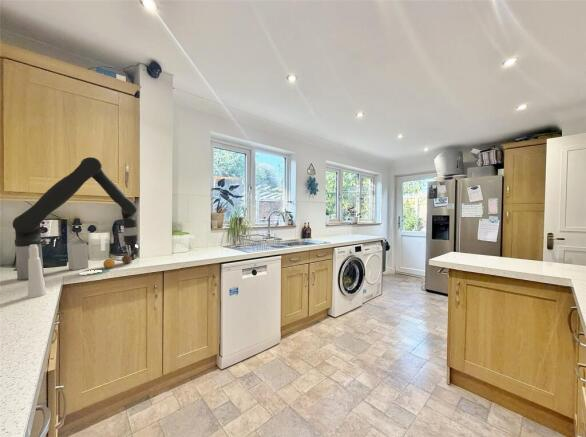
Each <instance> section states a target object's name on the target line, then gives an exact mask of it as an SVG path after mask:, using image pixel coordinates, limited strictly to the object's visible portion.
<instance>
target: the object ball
mask: <svg viewBox="0 0 586 437" xmlns="http://www.w3.org/2000/svg"><path fill="white" fill-rule="evenodd" d="M102 263H103V264H102V265H103V266H104V267H103V268H110V269H111V268H113V267H114V266H115V265H116V262H115V260H114V259H112V258H107V259H105V260H104V261H103V262H102Z"/></svg>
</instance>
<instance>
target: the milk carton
mask: <svg viewBox="0 0 586 437" xmlns="http://www.w3.org/2000/svg"><path fill="white" fill-rule="evenodd" d="M66 247H67V249H66V250H67V261H68V262H67V263H68V269H69V270H72V271H78V270H83V269H87V268H89V255H88V243H87V242H86V241H84V240H82V239H80V237H79V236H76V235H74V236H73V238H71V239H69V242H67V243H66Z"/></svg>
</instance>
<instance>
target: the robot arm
mask: <svg viewBox="0 0 586 437" xmlns="http://www.w3.org/2000/svg"><path fill="white" fill-rule="evenodd" d="M91 178H92V179H93V180H94V181H96V182H97V184H99V186H100V187H101V188H102V189H103V190H104V192H105V193H106V194H107V195H108V196H109V197H110V198H111V200H112V201H113V202H114V203H115V204H117V205H118V206H119V207H120V209H121V210H120V212H121V217H122V221H123V222H122V224H123V225H122V227H123V228H122V229H123V231H122V232H123V234H122V236H123V242H124V245H122V249H123V251H124V253H125V255H130V256H131V257H132V261H131V262H133V261H134V260H135V255H136V254H137V253H138V252H139V250H140V246H138V244H137V242H138V230H137V220H136V218H135V214H136V213H137V210H138V209H137V205H136V204H135V203H133V202H132V201H131V200H130V199H129V198H128V197H127V196H126V194H125V193H124V192H123V191H122V190H121V189H120V188H119V186H117V184H116V183H114V182H113V181H112V180H111V179H110V178H109V177H108V175H107V174H106V173H105V172H104V171H103V165H102V163H101V161H100V160H99V159H98V158H96V157H92V156H91V157H86V158H83V159H82V160H81V161H80V164H79V165H78V166H77V167H76V168H75V169H74V170H73V171H72V172H70V173H69V174H68V175H66V176H64V177H63V178H61V179H60V180H58V181H57V182H56V183H54V184H53V185H52V186H51V187H50V188H49V189H48V190H46V191H45V192H44V194H42V196H41V197H40V198H39V199H38V200H37V201H36V202H35V204H34V205H32V206H31V207H29V208H28V209H27V210H25V211H24V212H22V213H21V214H20V215H18V216H16V217H15V218H14V220H12V228H13V230H14V233H15V240H14V244H15V255H16V262H15V266H16V275H17V276H16V277H17V281H25V280H29V275H28V259H30V257H29V247H30V246H29V245H35V244H36V245H37V247H38V253H39V258H40V259H41V265H42V272H43V276H44V274H45V273H44V262H43V251H42V250H43V248H42V234H41V233H42V232H41V231H42V230H41V224H42V222H44V220H45V219H46V218H47V217H48V216H49V215H50V214H51V213H53V212H54V211H56V210H57V209H58V208H60V207H61V206H63V205H64V204H65V203H66V202H68V201H69V200H70V199H71V198H72V197H73V196H74V195H75V194H77V192H78V191H79V190H80V189H81V187H82V186H83V185H84V184H85V183H86V182H87V181H88V180H90V179H91Z"/></svg>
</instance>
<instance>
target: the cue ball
mask: <svg viewBox="0 0 586 437" xmlns="http://www.w3.org/2000/svg"><path fill="white" fill-rule="evenodd" d="M121 262H122V263H123V264H129V263H131V262H133V261H132V257H131V256H130V255H128V254H125V255H123V256H122V257H121Z"/></svg>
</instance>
